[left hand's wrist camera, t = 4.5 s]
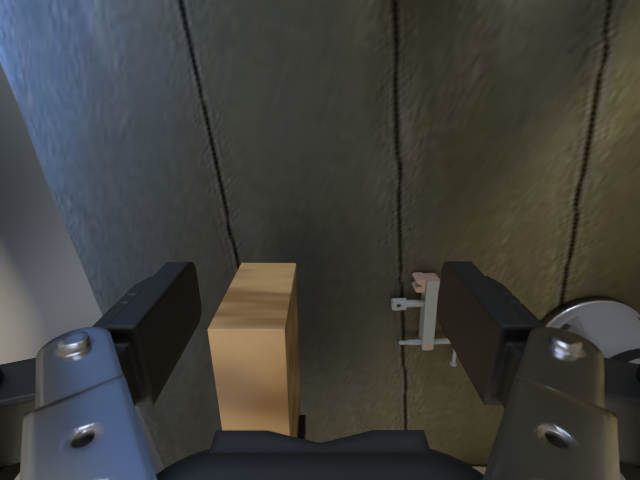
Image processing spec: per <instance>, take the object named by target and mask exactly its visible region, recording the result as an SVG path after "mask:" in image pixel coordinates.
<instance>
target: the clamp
mask: <svg viewBox="0 0 640 480" xmlns="http://www.w3.org/2000/svg"><path fill="white" fill-rule="evenodd" d="M412 276H413V277H414V279H415V281H414V282H413V283H412V285H413V288H414V290H415V291H416V292H417V293H421V300H406V298H392V299H391V306H392V309H393V310H406V307H420V322H419V337H418V339H412V340H405V341H399V345H405V344H406V345H421V348H422V350H433V346H434V344H451V343H450V341H449V340H448V338H438V339H434V335H435V324H436V312H437V301H438V289H439V287H440V279H439V277H438V276H437V275H436V274H435V273H422V272H415V273H413V274H412ZM451 346H452V345H451ZM450 365H451V366H453V367H455V366H457V363H456V352H455V351H454V349H453V354H452V361H451V362H450Z"/></svg>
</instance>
